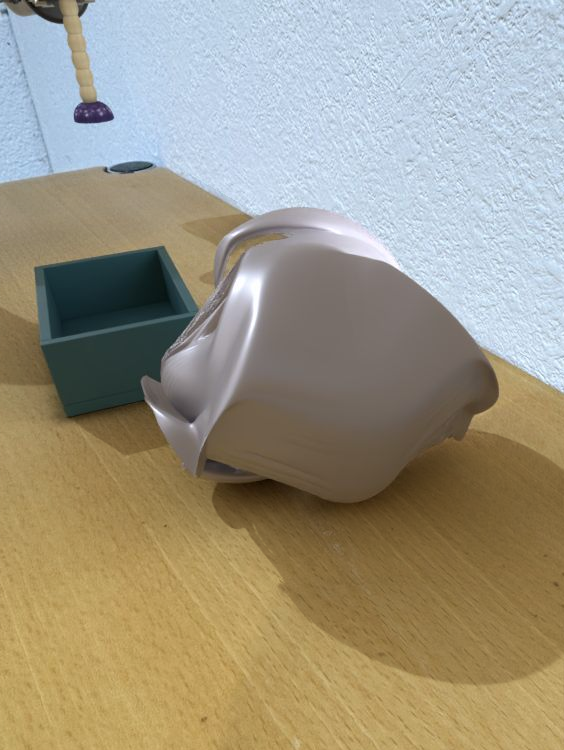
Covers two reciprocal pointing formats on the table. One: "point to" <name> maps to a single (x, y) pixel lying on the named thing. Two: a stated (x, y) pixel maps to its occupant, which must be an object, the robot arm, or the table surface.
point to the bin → (109, 324)
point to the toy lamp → (82, 69)
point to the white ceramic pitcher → (316, 364)
